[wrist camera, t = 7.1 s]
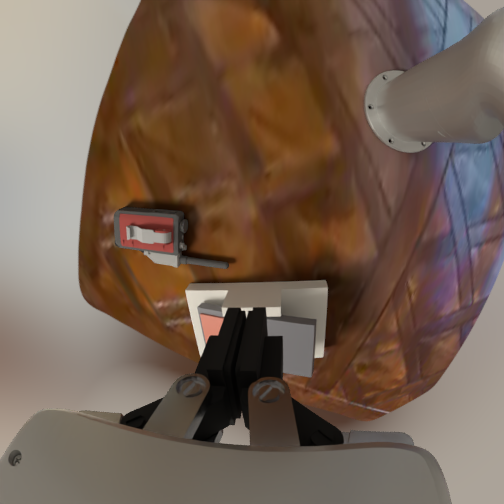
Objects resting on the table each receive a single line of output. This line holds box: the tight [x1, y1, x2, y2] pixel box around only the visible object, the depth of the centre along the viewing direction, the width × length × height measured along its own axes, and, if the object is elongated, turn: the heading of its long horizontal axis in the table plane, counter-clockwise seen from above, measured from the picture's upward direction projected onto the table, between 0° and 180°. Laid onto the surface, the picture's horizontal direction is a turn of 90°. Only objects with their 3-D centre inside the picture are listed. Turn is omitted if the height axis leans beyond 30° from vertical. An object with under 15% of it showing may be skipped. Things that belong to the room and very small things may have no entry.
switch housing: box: [185, 280, 328, 358], centre depth 43 cm, size 22×14×8 cm, turn 94°
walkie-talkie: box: [114, 207, 229, 269], centre depth 41 cm, size 9×4×20 cm
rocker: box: [197, 303, 317, 377], centre depth 41 cm, size 18×10×2 cm, turn 92°
